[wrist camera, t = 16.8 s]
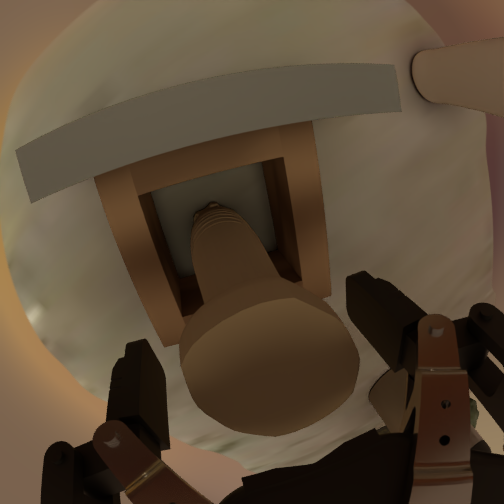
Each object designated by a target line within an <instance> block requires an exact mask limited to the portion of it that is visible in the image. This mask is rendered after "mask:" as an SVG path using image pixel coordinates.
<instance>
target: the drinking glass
mask: <svg viewBox="0 0 504 504" xmlns="http://www.w3.org/2000/svg"><path fill="white" fill-rule="evenodd" d="M412 76H413V80H414V83H415V85H416V87H417V89H418V91H419V92H420V94H421V95H422V96H423V97H424V98H425V99H426V100H428V101H430V102H432V103H436V104H448V105H454V106H459V107H464V108H468V109H473V110H477V111H481V112H485V113H489V114H492V115H496V116H500V117H503V118H504V37H500V38H492V39H485V40H478V41H472V42H467V43H461V44H456V45H451V46H446V47H441V48H436V49H428V50H423V51H420V52H419V53H417V54H416V56H415V57H414V59H413V63H412Z"/></svg>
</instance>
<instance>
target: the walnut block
mask: <svg viewBox="0 0 504 504" xmlns="http://www.w3.org/2000/svg"><path fill="white" fill-rule="evenodd" d="M261 161H262V166H263V172H264V177H265V182H266V187H267V192H268V198H269V203H270V208H271V214H272V219H273V225H274V230H275V236H276V241H277V247H278V250H276V251H273V252H269V253H267V254H268V256H269V257H270V259H271V261H272V263H273V265H274V267H275V268H276V270H277V272H278V274H279V276H280V277H281V278H284V279H286V280H288V281H290V282H292V283H294V284H296V285H298V286H300V287H302V288H304V289H306V290H308V291H309V292H311V293H313V294H314V295H316V296H317V297H319V298H320V299H322V298H325V297H328V296H331V281H330V267H329V254H328V243H327V232H326V222H325V213H324V204H323V195H322V187H321V179H320V172H319V165H318V158H317V151H316V144H315V138H314V132H313V126H312V120H311V121H304V122H297V123H291V124H285V125H280V126H274V127H269V128H263V129H258V130H253V131H249V132H244V133H239V134H235V135H230V136H226V137H222V138H217V139H213V140H209V141H205V142H201V143H198V144H194V145H190V146H186V147H183V148H179V149H176V150H172V151H169V152H165V153H162V154H159V155H156V156H152V157H149V158H146V159H143V160H140V161H137V162H134V163H131V164H128V165H125V166H122V167H119V168H116V169H113V170H111V171H108V172H105V173H103V174H100V175H97V176H95V177H94V180H95V183H96V186H97V189H98V193H99V196H100V199H101V202H102V204H103V207H104V210H105V213H106V216H107V219H108V221H109V224H110V227H111V230H112V232H113V235H114V238H115V240H116V243H117V245H118V248H119V250H120V253H121V255H122V258H123V260H124V263H125V265H126V267H127V270H128V272H129V274H130V277H131V279H132V281H133V284H134V286H135V288H136V290H137V293H138V295H139V297H140V299H141V301H142V303H143V306H144V308H145V310H146V312H147V314H148V316H149V318H150V320H151V322H152V324H153V326H154V328H155V330H156V332H157V334H158V336H159V338H160V340H161V342H162V344H163V346H164V347H168V346H172V345H175V344H179V339H180V337H181V334H182V332H183V329H184V327H185V326H186V324H187V322H188V321H189V319H190V318H191V316H192V315H193V314H194V313H195V312H196V311H197V310H198V309H199V308H200V307H201V306H203V305H204V300H203V297H202V294H201V291H200V287H199V284H198V281H197V277H196V274H195V275H191V276H188V277H185V278H181V279H179V276H178V274H177V271H176V268H175V265H174V263H173V260H172V257H171V254H170V251H169V248H168V245H167V242H166V239H165V236H164V233H163V230H162V227H161V224H160V221H159V218H158V215H157V212H156V209H155V206H154V202H153V199H152V196H151V193H150V192H151V191H154V190H157V189H161V188H164V187H167V186H170V185H174V184H177V183H181V182H184V181H188V180H191V179H195V178H198V177H202V176H205V175H209V174H213V173H217V172H220V171H224V170H228V169H232V168H236V167H240V166H244V165H249V164H253V163H257V162H261Z"/></svg>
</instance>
